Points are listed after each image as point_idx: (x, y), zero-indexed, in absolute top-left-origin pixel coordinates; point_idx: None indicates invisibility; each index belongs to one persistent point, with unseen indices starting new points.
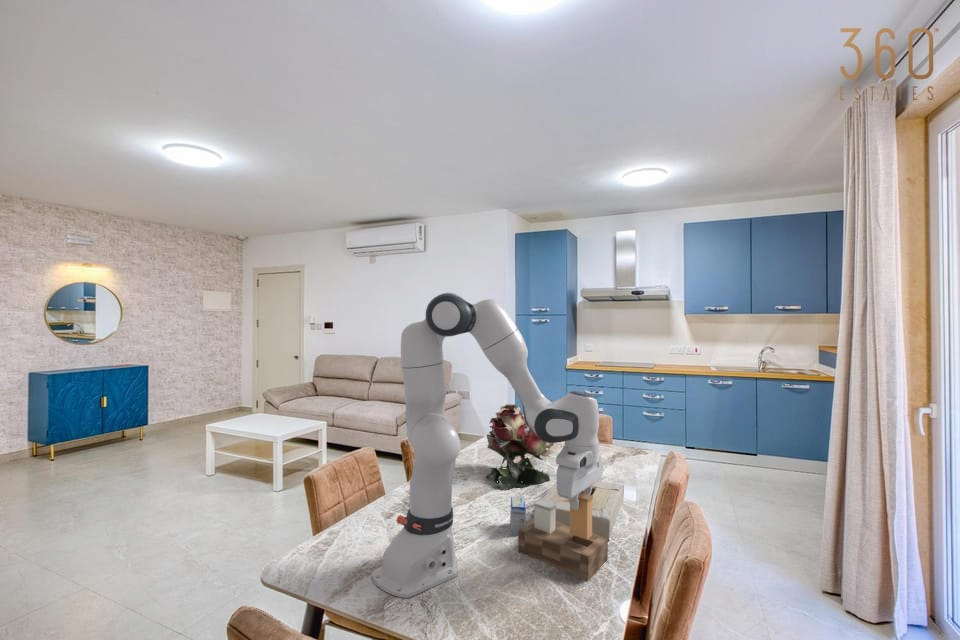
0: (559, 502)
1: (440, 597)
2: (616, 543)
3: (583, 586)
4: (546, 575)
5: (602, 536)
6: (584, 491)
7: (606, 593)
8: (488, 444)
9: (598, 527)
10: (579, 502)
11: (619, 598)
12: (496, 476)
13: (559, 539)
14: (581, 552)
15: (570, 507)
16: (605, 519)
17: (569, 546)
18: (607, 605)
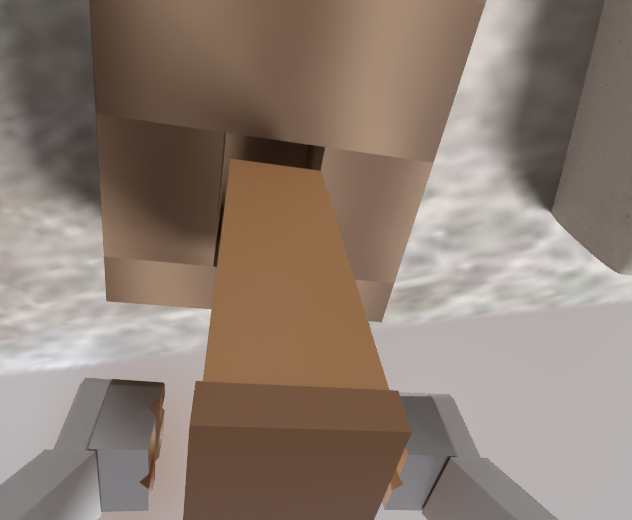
0: None
1: None
2: (538, 246)
3: (79, 226)
4: (14, 22)
5: (568, 189)
6: (471, 496)
7: (105, 311)
8: None
9: (604, 186)
10: (123, 508)
11: (110, 351)
12: None
13: (191, 68)
14: (123, 257)
15: (216, 289)
16: (629, 253)
17: (141, 171)
18: (32, 332)
